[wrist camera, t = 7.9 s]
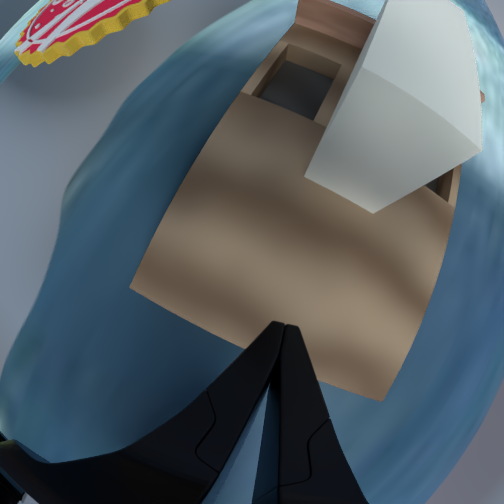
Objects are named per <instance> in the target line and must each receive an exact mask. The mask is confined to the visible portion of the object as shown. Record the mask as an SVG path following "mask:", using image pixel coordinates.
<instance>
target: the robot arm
mask: <svg viewBox="0 0 504 504" xmlns="http://www.w3.org/2000/svg"><path fill="white" fill-rule="evenodd" d="M269 383H270V384H269ZM268 386H269V389H268ZM267 389H268V396H267V404H266V411H265V419H264V426H263V433H262V440H261V447H260V454H259V460H258V467H257V473H256V479H255V485H254V492H253V497H252V503H251V504H369V503H368V502H367V500H366V498H365V497H364V495H363V493H362V491H361V489H360V487H359V485H358V483H357V481H356V479H355V477H354V475H353V472H352V470H351V468H350V466H349V464H348V462H347V460H346V458H345V456H344V453H343V451H342V449H341V447H340V444H339V441H338V439H337V436H336V433H335V431H334V428H333V424H332V421H331V419H329V417H330V416H329V413H328V410H327V407H326V404H325V401H324V398H323V395H322V392H321V389H320V386H319V383H318V380H317V377H316V374H315V371H314V368H313V365H312V362H311V359H310V356H309V353H308V351H307V348H306V345H305V342H304V339H303V336H302V333H301V330H300V328H299V327H298V326H296V325H292V324H286V325H285V323H283V322H279V321H275V320H273V321H271V322H270V323H269V324H268V325H267V327H266V328H265V329H264V330H263V331H262V332H261V333H260V334H259V335H258V336H257V337H256V338H255V339H254V340H253V342H252V343H251V344H250V345H249V346H248V347H247V348H246V349H245V350H244V351H243V352H242V353H241V354H240V355H239V356H238V357H237V358H236V359H235V360H234V361H233V362H232V363H231V364H230V365H229V366H228V367H227V368H226V369H225V371H224V372H223V373H222V374H221V375H220V376H219V377H218V378H217V379H216V380H215V381H213V382H212V383H211V384H210V385H209V386H208V387H207V388H206V390H204V391H203V392H202V393H201V394H200V395H199V396H198V397H197V398H196V399H195V400H194V401H192V402H191V403H190V404H189V405H188V406H187V407H186V408H184V409H183V410H182V411H181V412H179V413H178V414H177V415H175V416H174V417H173V418H171V419H170V420H168V421H167V422H166V423H164V424H163V425H161V426H160V427H158V428H157V429H155V430H153V431H152V432H150V433H149V434H147V435H146V436H144V437H143V438H141V439H139V440H138V441H136V442H135V443H133V444H131V445H129V446H127V447H125V448H123V449H121V450H118V451H115V452H112V453H108V454H103V455H99V456H94V457H89V458H84V459H79V460H73V461H67V462H60V463H50V462H49V461H47V460H45V459H44V458H42V457H41V456H39V455H38V454H36V453H35V452H33V451H32V450H30V449H29V448H27V447H26V446H25V445H23V444H22V443H20V442H19V441H17V440H14V439H11V440H8V439H7V438H6V437H5V436H4V435H3V434H2V433H1V431H0V504H213V502H214V500H215V499H216V497H217V494H218V493H219V491H220V489H221V487H222V485H223V483H224V482H225V480H226V478H227V476H228V474H229V472H230V470H231V468H232V466H233V464H234V462H235V460H236V458H237V456H238V454H239V452H240V449H241V447H242V445H243V443H244V441H245V439H246V437H247V435H248V432H249V430H250V428H251V426H252V424H253V421H254V419H255V417H256V415H257V413H258V410H259V408H260V406H261V403H262V401H263V399H264V396H265V394H266V392H267Z"/></svg>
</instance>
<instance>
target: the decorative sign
mask: <svg viewBox="0 0 504 504" xmlns="http://www.w3.org/2000/svg"><path fill="white" fill-rule="evenodd" d="M169 1H171V0H50V1H49V3H48V4H46V5H45V6H44V7H42V8H41V9H40V10H39V11H38V13H37V15H36V16H35V17H33V18H32V19H31V20H30V21H29V22H28V26H27V27H26V28H25V29H24V30H23V31H22V32H21V33H20V36H21V38H20V39H19V40H18V41H17V43H16V44H15V45H16V46H17V48H16V49H15V50H14V51H15V54H16V55H17V56H18V59H19V60H20V61H21V62H22V63H23V64H24V65H25V66H26V65H28V64H30V63H31V64H32V66H33V67H36V66H37V65H39V64H40V63H42V62H44V61H46V62H47V64H51V63H52V62H53V61H55V60H56V59H57V58H59V57H60V56H68V57H69V56H71V55H73V54H74V53H75V52H76V51H77V50H79V49H80V48H81V47H83V46H88V45H94V44H96V43H98V42H99V41H100V40H101V39H102V38H103V37H104V36H106V35H107V34H109V33H113V32H117V31H121V30H123V29H124V28H125V27H126V26H127V25H128V24H129V23H130V22H131V21H133V20H135V19H138V18H141V17H145V16H147V15H149V14H150V13H151V11H152V10H153V9H154V8H155V7H156V6H158V5H161V4H164V3H167V2H169Z"/></svg>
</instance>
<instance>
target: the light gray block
mask: <svg viewBox="0 0 504 504" xmlns="http://www.w3.org/2000/svg"><path fill="white" fill-rule="evenodd" d="M481 151H482V110H481V97H480V87H479V79H478V72H477V65H476V59H475V54H474V49H473V44H472V40H471V35H470V31H469V27H468V24H467V20H466V17H465V13H464V11H463V10H462V9H460V8H459V7H458V6H456V5H455V4H453V3H452V2H451V1H449V0H386V1H385V3H384V5H383V7H382V9H381V11H380V13H379V15H378V18H377V20H376V22H375V24H374V26H373V28H372V30H371V32H370V34H369V36H368V39H367V41H366V43H365V45H364V47H363V49H362V51H361V53H360V55H359V58H358V60H357V62H356V64H355V66H354V69H353V71H352V73H351V75H350V78H349V80H348V82H347V84H346V86H345V89H344V91H343V93H342V95H341V97H340V100H339V102H338V104H337V106H336V108H335V111H334V113H333V115H332V117H331V119H330V121H329V124H328V126H327V128H326V130H325V132H324V134H323V136H322V139H321V141H320V143H319V145H318V147H317V149H316V151H315V154H314V156H313V158H312V160H311V162H310V164H309V166H308V169H307V171H306V173H305V175H304V177H306V178H308V179H310V180H312V181H314V182H316V183H317V184H319V185H321V186H323V187H325V188H327V189H329V190H331V191H333V192H335V193H337V194H339V195H340V196H342V197H344V198H346V199H348V200H350V201H351V202H353V203H355V204H357V205H359V206H360V207H362V208H364V209H366V210H367V211H369V212H371V213H373V214H374V213H375V212H377V211H379V210H381V209H383V208H384V207H386V206H388V205H390V204H392V203H393V202H395V201H397V200H399V199H400V198H402V197H404V196H406V195H408V194H409V193H411V192H413V191H415V190H416V189H418V188H420V187H422V186H423V185H425V184H427V183H429V182H430V181H432V180H434V179H436V178H437V177H439V176H441V175H443V174H444V173H446V172H448V171H449V170H451V169H453V168H454V167H456V166H458V165H460V164H461V163H463V162H465V161H466V160H468V159H470V158H471V157H473V156H475V155H476V154H478V153H480V152H481Z"/></svg>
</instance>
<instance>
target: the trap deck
mask: <svg viewBox="0 0 504 504" xmlns="http://www.w3.org/2000/svg"><path fill="white" fill-rule="evenodd" d="M375 22H376V20H375V19H372V18H370V17H368V16H366V15H364V14H362V13H359V12H357V11H355V10H353V9H350V8H348V7H345V6H343V5H340V4H338V3H335V2H332V1H330V0H299V1H298V6H297V12H296V17H295V23H294V24H293V25H292V26H291V28H290V29H289V30H288V31H287V32H286V33H285V35H284V36H283V37H282V38H281V39H280V41H279V42H278V43H277V44H276V45H275V47H274V48H273V49H272V50H271V52H270V53H269V54H268V55H267V57H266V58H265V59H264V60H263V62H262V63H261V64H260V66H259V67H258V68H257V70H256V71H255V72H254V74H253V75H252V76H251V78H250V79H249V80H248V82H247V83H246V84H245V86H244V87H243V89H242V90H241V91H240V93H239V94H238V96H237V97H236V98H235V100H234V101H233V103H232V104H231V106H230V107H229V108H228V110H227V111H226V113H225V114H224V116H223V117H222V119H221V120H220V122H219V123H218V125H217V126H216V128H215V129H214V131H213V133H212V134H211V136H210V137H209V139H208V140H207V142H206V144H205V145H204V147H203V148H202V150H201V152H200V153H199V155H198V157H197V158H196V160H195V161H194V163H193V165H192V167H191V168H190V170H189V172H188V173H187V175H186V177H185V178H184V180H183V182H182V184H181V185H180V187H179V189H178V191H177V193H176V194H175V196H174V198H173V200H172V202H171V203H170V205H169V207H168V209H167V211H166V213H165V215H164V217H163V218H162V220H161V222H160V224H159V226H158V228H157V230H156V232H155V234H154V236H153V238H152V240H151V242H150V244H149V246H148V248H147V250H146V252H145V254H144V256H143V259H142V261H141V263H140V265H139V267H138V269H137V271H136V274H135V276H134V278H133V280H132V283H131V285H130V287H129V288H131V289H133V290H134V291H136V292H138V293H139V294H141V295H143V296H144V297H146V298H148V299H150V300H151V301H153V302H155V303H156V304H158V305H160V306H162V307H164V308H165V309H167V310H169V311H171V312H173V313H174V314H176V315H178V316H180V317H182V318H184V319H185V320H187V321H189V322H191V323H193V324H195V325H197V326H199V327H201V328H203V329H205V330H206V331H208V332H210V333H212V334H214V335H216V336H218V337H220V338H223V339H225V340H227V341H229V342H231V343H233V344H235V345H237V346H239V347H241V348H243V349H246V348H247V347H248V346H249V345H250V344H251V343H252V342H253V340H254V339H255V338H256V337H257V336H258V335H259V334H260V333H261V332H262V331H263V330H264V329H265V328H266V327H267V325H268V324H269V323H270V322H271V321H273V320H275V321H279V322H283V323H285V325H286V324H292V325H296V326H298V327H299V328H300V330H301V333H302V336H303V339H304V342H305V345H306V348H307V351H308V353H309V356H310V359H311V362H312V365H313V368H314V371H315V374H316V377H317V380H319V381H322V382H325V383H327V384H330V385H333V386H336V387H338V388H341V389H344V390H347V391H350V392H353V393H356V394H359V395H362V396H365V397H368V398H371V399H374V400H377V401H381V402H382V401H383V399H384V398H385V396H386V394H387V393H388V391H389V389H390V387H391V385H392V383H393V382H394V380H395V378H396V376H397V374H398V372H399V370H400V368H401V366H402V364H403V362H404V360H405V358H406V356H407V354H408V352H409V350H410V347H411V345H412V343H413V341H414V338H415V336H416V334H417V331H418V329H419V327H420V324H421V322H422V319H423V317H424V314H425V312H426V309H427V306H428V304H429V301H430V298H431V295H432V292H433V290H434V287H435V284H436V280H437V277H438V274H439V271H440V268H441V264H442V261H443V257H444V254H445V250H446V246H447V242H448V238H449V234H450V230H451V225H452V220H453V216H454V211H455V205H456V200H457V194H458V187H459V180H460V173H461V164H462V163H461V164H460V165H458V166H456V167H454V168H453V169H451V170H449V171H448V172H446V173H444V174H443V175H441V176H439V177H437V178H436V179H434V180H432V181H430V182H429V183H427V184H425V185H423V186H422V187H420V188H418V189H416V190H415V191H413V192H411V193H409V194H408V195H406V196H404V197H402V198H400V199H399V200H397V201H395V202H393V203H392V204H390V205H388V206H386V207H384V208H383V209H381V210H379V211H377V212H375V213H374V214H373V213H371V212H369V211H367V210H366V209H364V208H362V207H360V206H359V205H357V204H355V203H353V202H351V201H350V200H348V199H346V198H344V197H342V196H340V195H339V194H337V193H335V192H333V191H331V190H329V189H327V188H325V187H323V186H321V185H319V184H317V183H316V182H314V181H312V180H310V179H308V178H306V177H304V175H305V173H306V171H307V169H308V166H309V164H310V162H311V160H312V158H313V156H314V154H315V151H316V149H317V147H318V145H319V143H320V141H321V139H322V136H323V134H324V132H325V130H326V128H327V126H328V124H329V121H330V119H331V117H332V115H333V113H334V111H335V108H336V106H337V104H338V102H339V100H340V97H341V95H342V93H343V91H344V89H345V86H346V84H347V82H348V80H349V78H350V75H351V73H352V71H353V69H354V66H355V64H356V62H357V60H358V58H359V55H360V53H361V51H362V49H363V47H364V45H365V43H366V41H367V39H368V36H369V34H370V32H371V30H372V28H373V26H374V24H375ZM480 97H481V103H482V102H484V101H485V97H484V93H482V92H481V91H480Z"/></svg>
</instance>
